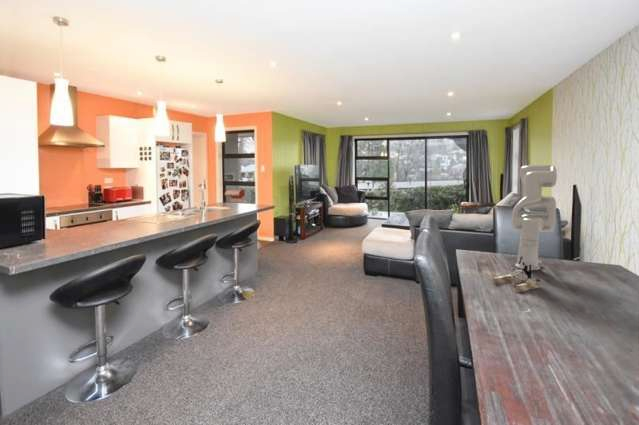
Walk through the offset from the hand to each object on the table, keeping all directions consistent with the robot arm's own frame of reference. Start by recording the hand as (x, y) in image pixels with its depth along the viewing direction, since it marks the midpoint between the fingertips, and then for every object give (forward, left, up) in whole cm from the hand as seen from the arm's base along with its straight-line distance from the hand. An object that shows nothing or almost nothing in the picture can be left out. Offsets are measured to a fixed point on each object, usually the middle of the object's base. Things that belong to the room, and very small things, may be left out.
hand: (526, 277), depth 174 cm
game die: (+6, 0, -3) cm, 7 cm away
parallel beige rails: (+8, 0, -3) cm, 8 cm away
